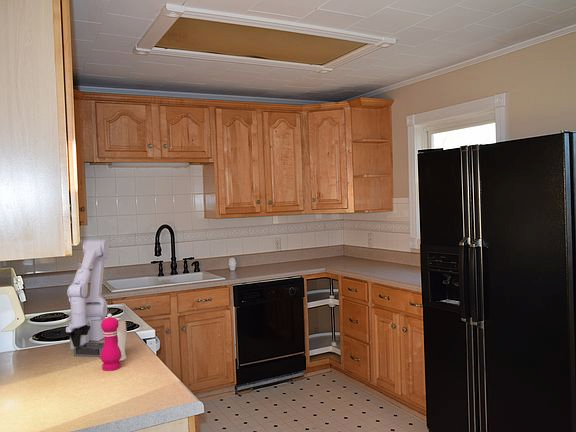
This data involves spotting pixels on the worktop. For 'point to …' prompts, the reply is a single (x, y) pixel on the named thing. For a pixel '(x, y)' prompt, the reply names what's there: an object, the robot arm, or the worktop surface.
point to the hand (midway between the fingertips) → (79, 345)
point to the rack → (89, 349)
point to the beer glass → (121, 337)
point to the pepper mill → (110, 344)
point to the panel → (82, 339)
